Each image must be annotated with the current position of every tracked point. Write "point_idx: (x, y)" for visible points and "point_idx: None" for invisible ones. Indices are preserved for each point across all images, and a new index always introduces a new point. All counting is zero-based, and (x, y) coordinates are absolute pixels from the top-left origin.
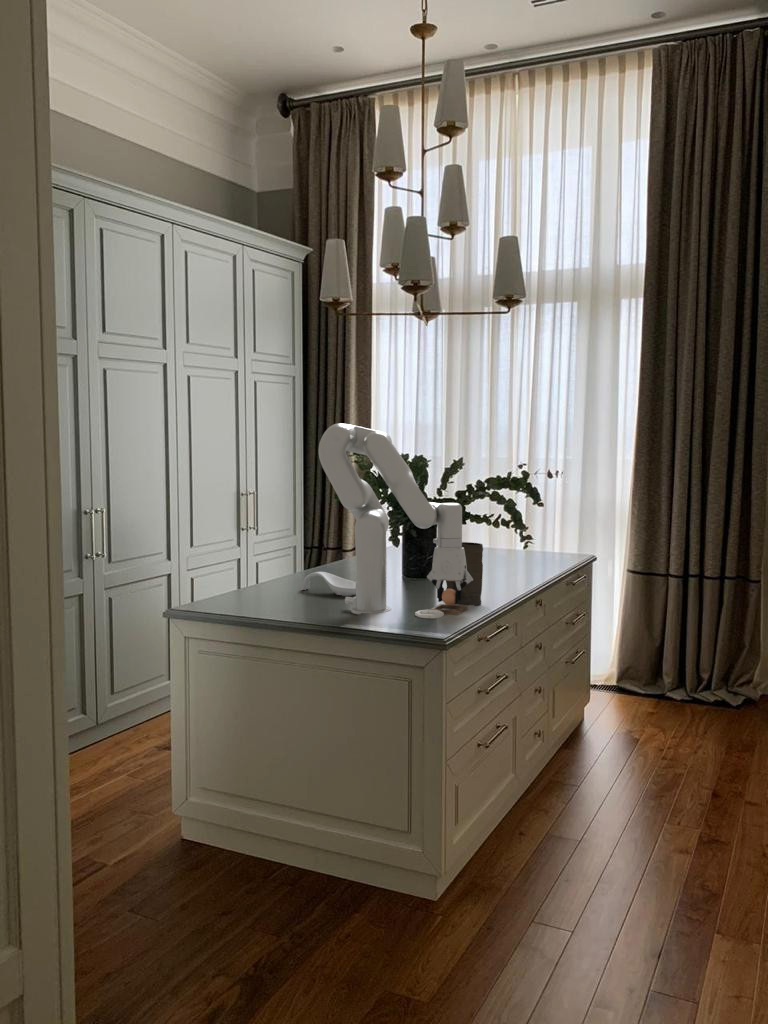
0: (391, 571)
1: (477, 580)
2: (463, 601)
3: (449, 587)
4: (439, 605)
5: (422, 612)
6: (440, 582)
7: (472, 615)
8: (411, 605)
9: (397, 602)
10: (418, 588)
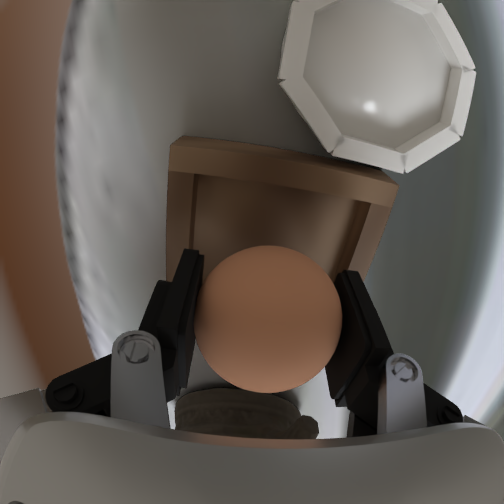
0: None
1: None
2: (227, 401)
3: None
4: None
5: (436, 127)
6: (388, 416)
7: (125, 238)
8: (439, 353)
9: (467, 369)
10: None
